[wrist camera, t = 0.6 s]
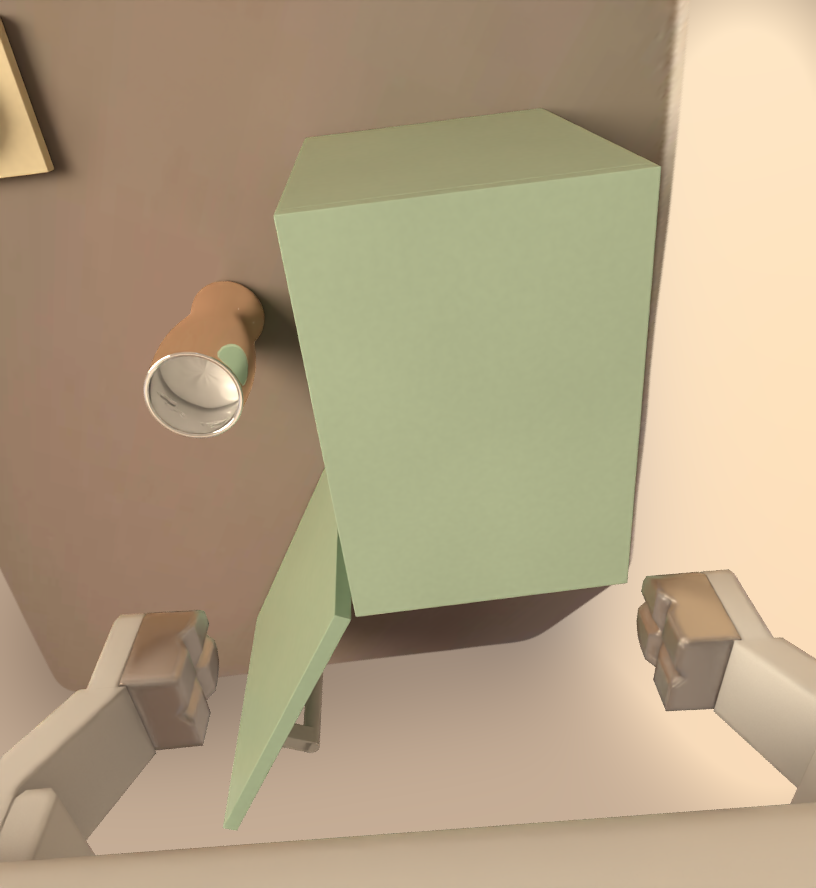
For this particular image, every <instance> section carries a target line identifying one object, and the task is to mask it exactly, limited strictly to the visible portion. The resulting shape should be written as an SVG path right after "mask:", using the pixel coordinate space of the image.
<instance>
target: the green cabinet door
mask: <svg viewBox="0 0 816 888" xmlns="http://www.w3.org/2000/svg"><path fill="white" fill-rule="evenodd" d="M350 621H351V591H350V586H349V581H348V576H347V572H346V567H345V562H344V557H343V552H342V547H341V542H340V538H339V533H338V528H337V523H336V518H335V513H334V508H333V503H332V499H331V494H330V489H329V484H328V479H327V474H326V469H325V468H324V470H323V473H322V475H321V477H320V479H319V481H318V484H317V486H316V488H315V490H314V493H313V495H312V497H311V499H310V501H309V504H308V506H307V508H306V510H305V513H304V515H303V517H302V519H301V521H300V524H299V526H298V528H297V530H296V533H295V535H294V537H293V539H292V541H291V544H290V546H289V548H288V550H287V553H286V555H285V557H284V559H283V562H282V564H281V566H280V568H279V570H278V573H277V575H276V577H275V579H274V582H273V584H272V586H271V588H270V590H269V593H268V595H267V597H266V599H265V602H264V604H263V606H262V608H261V610H260V613H259V615H258V617H257V622H256V628H255V635H254V641H253V647H252V653H251V659H250V665H249V671H248V678H247V684H246V690H245V696H244V703H243V708H242V715H241V721H240V727H239V733H238V739H237V746H236V751H235V758H234V765H233V770H232V776H231V783H230V788H229V794H228V801H227V807H226V813H225V819H224V826H223V828H226V829H231V830H237V829H238V827H239V826H240V824H241V822H242V820H243V818H244V816H245V815H246V813H247V811H248V809H249V807H250V805H251V803H252V801H253V800H254V798H255V796H256V794H257V792H258V791H259V789H260V787H261V785H262V783H263V781H264V779H265V778H266V776H267V774H268V772H269V770H270V768H271V767H272V765H273V763H274V761H275V759H276V757H277V755H278V754H279V752H280V750H281V748H282V747H284V748H289V749H295V750H299V751H304V752H308V753H313V752H316V751H317V750H319V747H320V725H321V705H322V685H323V671H324V669H325V667H326V665H327V663H328V661H329V660H330V658H331V656H332V654H333V652H334V650H335V648H336V647H337V645H338V643H339V641H340V639H341V637H342V636H343V634H344V632H345V630H346V628H347V626H348V624H349V623H350ZM304 706H305V712H304V725H300V724H295V722H296V720H297V719H298V717H299V715H300V713H301V711H302V709H303V707H304Z"/></svg>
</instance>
